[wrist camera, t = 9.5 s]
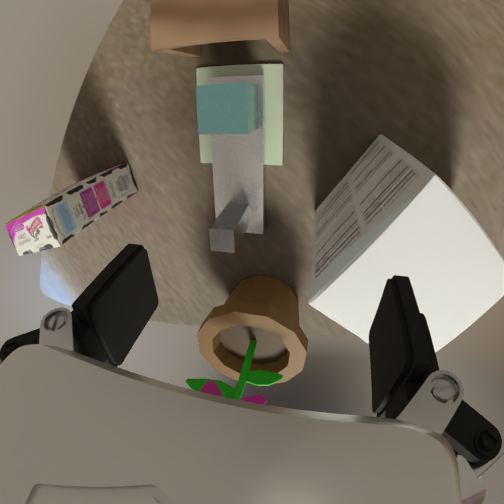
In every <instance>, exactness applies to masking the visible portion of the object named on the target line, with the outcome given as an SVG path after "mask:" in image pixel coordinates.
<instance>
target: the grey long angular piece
mask: <svg viewBox="0 0 504 504" xmlns="http://www.w3.org/2000/svg"><path fill="white" fill-rule="evenodd" d="M196 99H197V121H198V135H206V134H211V148H212V167H213V184H214V199H215V214H216V220H215V221H214V222H213V223H212V225H211V226H210V227H209V237H210V247H211V251H219V252H229V253H235V251H236V249H237V248H238V246H239V244H240V242H241V240H242V238H243V236H244V234H245V233H255V234H263V233H264V218H265V115H264V76H263V75H253V76H228V77H213V78H209V85H199V86H196Z"/></svg>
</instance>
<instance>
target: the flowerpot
mask: <svg viewBox="0 0 504 504" xmlns="http://www.w3.org/2000/svg"><path fill="white" fill-rule="evenodd" d="M197 337H198V343H199V349H200V353H201V354H202V355H203V356H204V358H205V359H206V360H207V361H208V362H209V363H210V364H211V365H212V367H213V368H214V369H216V370H218V371H219V372H221V373H223V374H225V375H227V376H229V377H231V378H233V379H235V380H237V381H238V383H237V386H236V389H235V388H233V387H231V386H229V385H228V384H226V383H224V382H222V381H218V380H210V379H187V380H186V383H187V384H188V385H189V386H190V387H191V389H192V390H195V391H199V392H203V393H207V394H212V395H216V396H221V397H225V398H230V399H235V400H240V398H241V396H242V393H243V390H244V387H245V384H246V383H251V384H254V385H257V386H264V385H271V384H274V383H281V382H286V381H288V380H289V379H290V378H292V377H293V376H295V375H296V374H298V373H299V372H301V371H302V370H303V366H304V362H305V357H306V353H307V345H308V339H307V338H306V336H305V334H304V333H303V331H302V329H301V327H300V326H299V310H298V300H297V298H296V296H295V294H294V292H293V291H292V289H291V287H289V286H288V285H286V284H285V283H283V282H281V281H280V280H278V279H277V278H274V277H267V276H259V275H256V276H253V277H250V278H247V279H244V280H241V281H240V283H239V284H238V285H237V286H236V288H235V289H234V290H233V292H232V293H231V295H230V296H229V298H228V299H227V301H226V302H225V304H224V305H221V306H218V307H214V308H213V310H212V311H211V312H210V314H209V315H208V316H207V318H206V319H205V320H204V322H203V323H202V325H201V327H200V329H199V331H198V334H197ZM240 401H246V402H251V403H257V404H262V405H265V404H266V402H267V400H266V399H265V397H264V396H263V395H262V394H261V395H255V396H249V397H244V398H242V399H241V400H240Z"/></svg>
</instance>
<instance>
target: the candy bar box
mask: <svg viewBox="0 0 504 504" xmlns="http://www.w3.org/2000/svg"><path fill="white" fill-rule="evenodd" d="M137 192H138V190H137V187H136V184H135V181H134V179H133V175H132V172H131V169H130V166H129V163H128V162H126V163H123V164H120V165H118V166H115V167H112V168H110V169H107V170H104V171H102V172H99V173H97V174H94V175H92V176H90V177H87V178H85V179H83V180H81V181H79V182H77V183H75V184H73V185H71V186H69V187H67V188H65V189H63V190H62V191H60V192H58V193H56V194H54V195H52V196H51V197H49V198H47V199H46V200H44V201H42V202H40V203H39V204H37V205H35V206H33V207H32V208H30V209H28V210H27V211H25V212H23V213H22V214H20V215H19V216H17V217H16V218H14V219H13V220H11V221H9V222H8V223H6V224H5V226H6V228H7V231H8V232H9V235H10V237H11V240H12V242H13V244H14V246H15V248H16V250H17V252H18V255H19V256H20V255H25V254H29V253H33V252H38V251H42V250H47V249H51V248H55V247H59V246H61V245H63V244H64V243H65V242H66V241H68V240H69V239H70V238H72V237H73V236H74V235H76V234H77V233H78V232H80V231H81V230H82V229H84V228H85V227H86V226H88V225H89V224H91V223H92V222H94V221H95V220H96V219H98V218H99V217H101V216H102V215H103V214H105V213H106V212H108V211H109V210H111V209H112V208H114V207H115V206H117V205H118V204H120V203H121V202H123V201H124V200H126V199H127V198H129V197H130V196H132V195H134V194H135V193H137Z"/></svg>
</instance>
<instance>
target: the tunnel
mask: <svg viewBox="0 0 504 504" xmlns="http://www.w3.org/2000/svg"><path fill="white" fill-rule="evenodd" d="M265 39H266V40H267V41H268V42H269V43H270V44H271V45H272V46H273V47H274V48H275V49H276V50H277V51H278V52H290V47H289V1H288V0H151V51H156V52H163V53H169V54H175V55H181V56H186V57H191V58H193V57H201V44H208V43H217V42H228V41H242V40H265Z"/></svg>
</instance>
